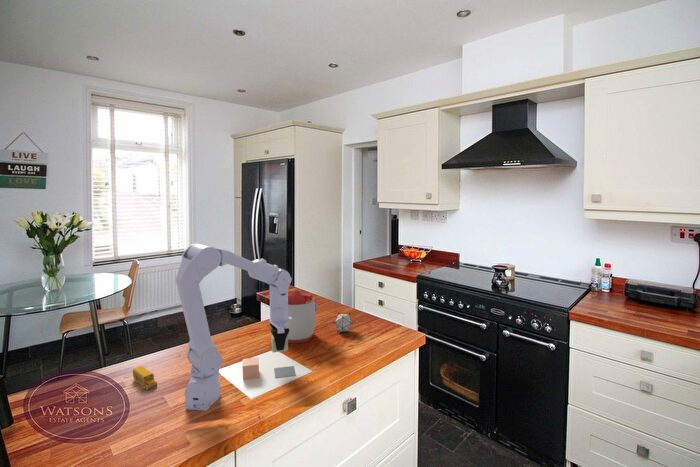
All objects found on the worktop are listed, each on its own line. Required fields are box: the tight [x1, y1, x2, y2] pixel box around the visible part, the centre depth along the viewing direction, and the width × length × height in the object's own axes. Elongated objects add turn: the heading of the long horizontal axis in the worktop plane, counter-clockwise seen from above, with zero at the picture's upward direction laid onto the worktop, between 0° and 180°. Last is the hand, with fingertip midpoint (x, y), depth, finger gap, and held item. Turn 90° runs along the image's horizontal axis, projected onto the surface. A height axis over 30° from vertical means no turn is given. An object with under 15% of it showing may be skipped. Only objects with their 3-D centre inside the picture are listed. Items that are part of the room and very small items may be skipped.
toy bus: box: [132, 365, 158, 391], centre depth 107 cm, size 3×10×4 cm, turn 52°
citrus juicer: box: [285, 290, 321, 344], centre depth 139 cm, size 16×17×20 cm
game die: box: [332, 312, 355, 334], centre depth 148 cm, size 9×8×10 cm
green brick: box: [271, 334, 289, 353], centre depth 114 cm, size 5×5×4 cm
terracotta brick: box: [242, 357, 259, 380], centre depth 110 cm, size 5×5×4 cm
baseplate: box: [219, 350, 313, 400], centre depth 113 cm, size 22×22×1 cm
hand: (279, 346), depth 114 cm, fingers closed on green brick, 5 cm apart
